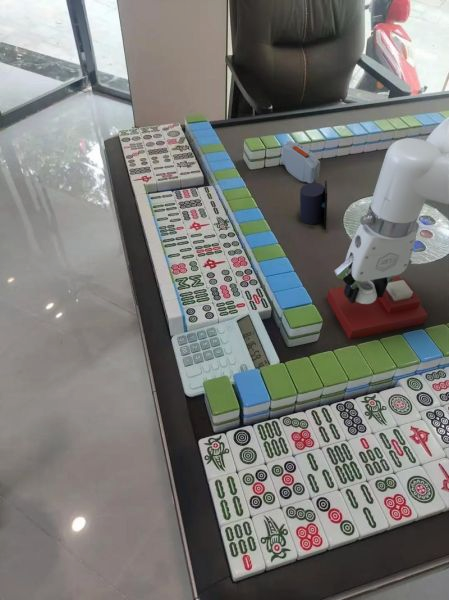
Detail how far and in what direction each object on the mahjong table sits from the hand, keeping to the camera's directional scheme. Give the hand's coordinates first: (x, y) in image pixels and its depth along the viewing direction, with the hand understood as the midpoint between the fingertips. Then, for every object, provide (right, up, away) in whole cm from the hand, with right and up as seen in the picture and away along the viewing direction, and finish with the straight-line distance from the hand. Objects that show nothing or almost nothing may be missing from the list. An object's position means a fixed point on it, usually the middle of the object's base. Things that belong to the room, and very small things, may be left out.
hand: (363, 294), depth 82 cm
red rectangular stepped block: (+4, -3, +5) cm, 7 cm away
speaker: (-5, +19, +25) cm, 32 cm away
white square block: (+8, 0, +3) cm, 8 cm away
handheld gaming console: (-6, +34, +39) cm, 52 cm away
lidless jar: (0, 0, 0) cm, 1 cm away
